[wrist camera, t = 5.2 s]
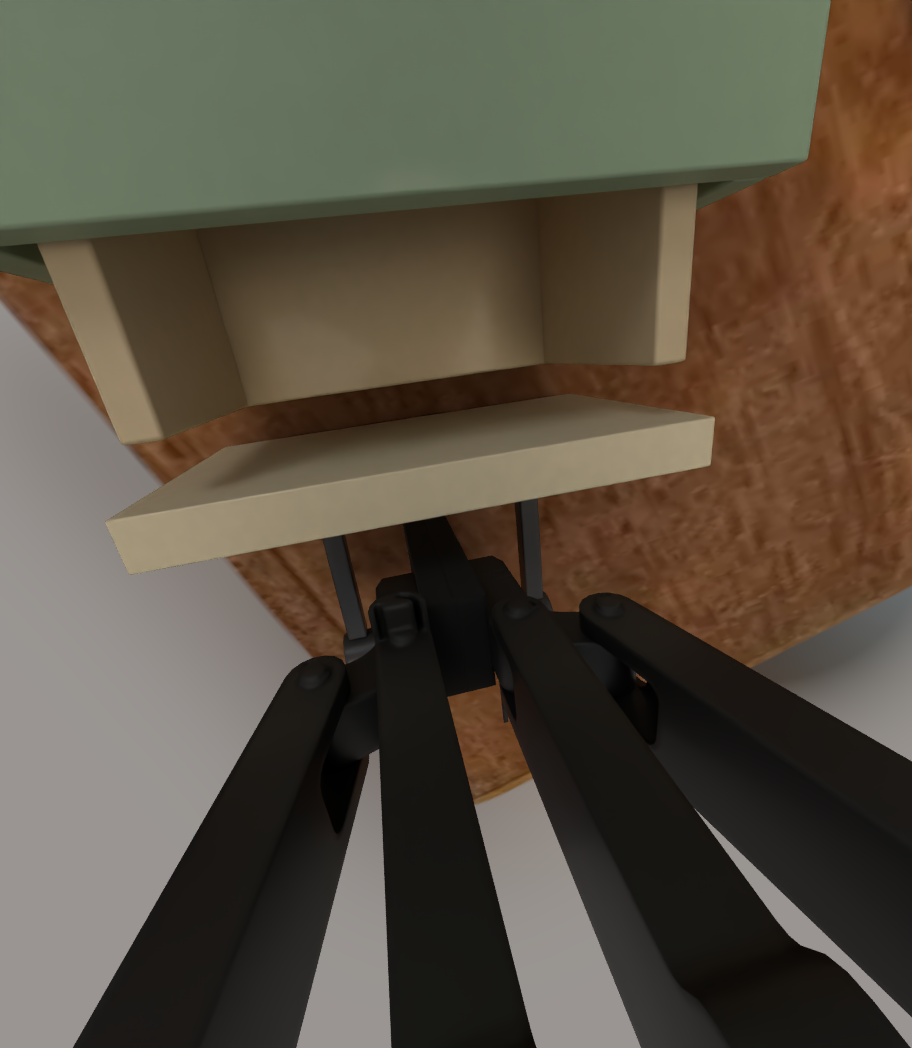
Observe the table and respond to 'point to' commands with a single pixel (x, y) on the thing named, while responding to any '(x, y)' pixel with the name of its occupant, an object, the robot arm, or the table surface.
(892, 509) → the table surface
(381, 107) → the cabinet
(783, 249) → the table surface
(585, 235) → the drawer
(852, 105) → the table surface
